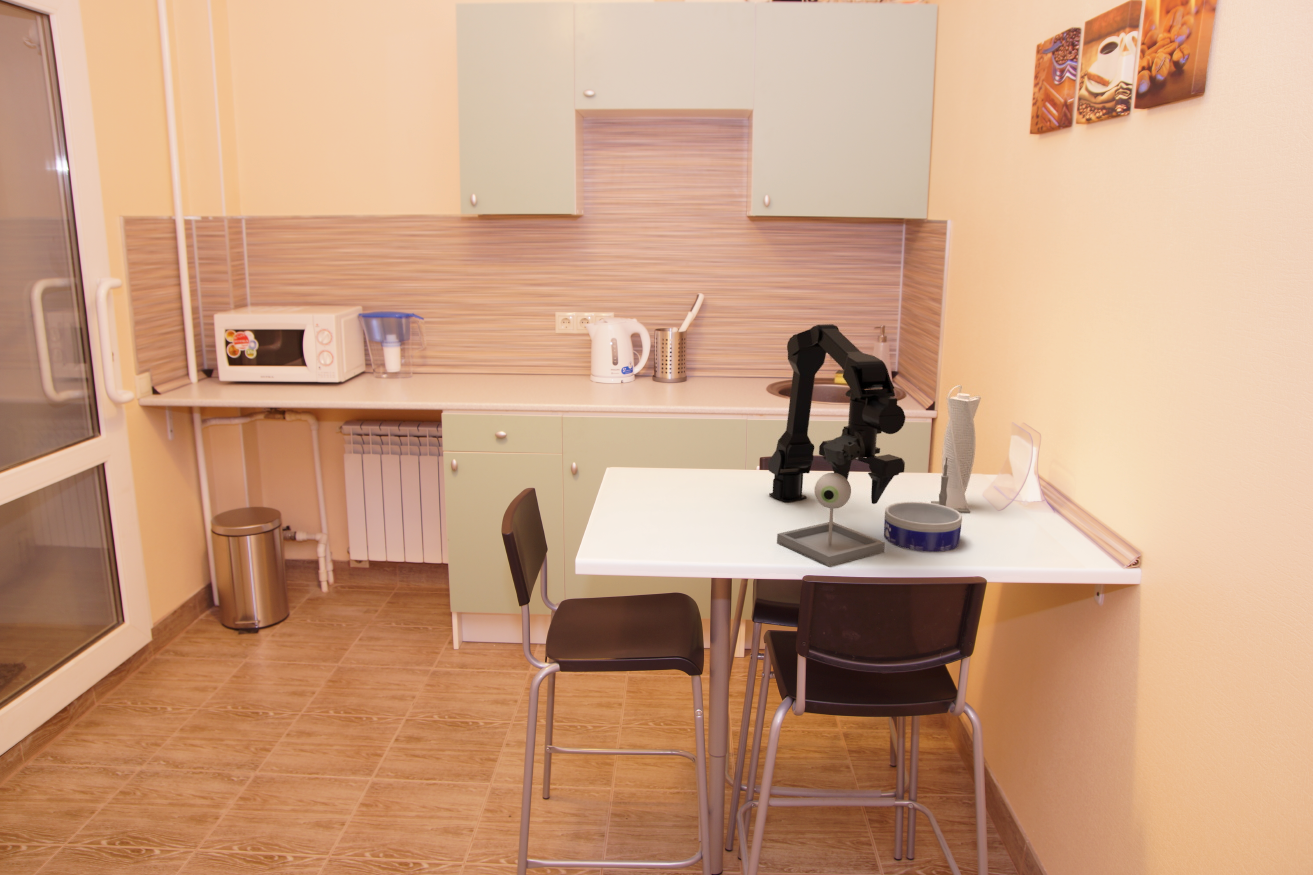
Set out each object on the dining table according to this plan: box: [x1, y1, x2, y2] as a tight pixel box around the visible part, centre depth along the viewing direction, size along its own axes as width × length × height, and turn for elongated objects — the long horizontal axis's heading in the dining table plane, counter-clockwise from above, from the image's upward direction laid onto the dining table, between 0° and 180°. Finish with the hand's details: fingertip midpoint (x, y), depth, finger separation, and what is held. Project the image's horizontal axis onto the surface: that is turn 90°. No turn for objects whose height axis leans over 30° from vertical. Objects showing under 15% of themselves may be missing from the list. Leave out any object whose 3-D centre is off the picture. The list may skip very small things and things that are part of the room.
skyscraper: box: [930, 384, 982, 514], centre depth 207 cm, size 8×8×28 cm
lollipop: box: [814, 472, 852, 546], centre depth 181 cm, size 7×7×15 cm
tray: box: [776, 521, 886, 567], centre depth 183 cm, size 15×15×2 cm
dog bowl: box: [883, 501, 963, 553], centre depth 188 cm, size 15×15×6 cm
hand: (857, 497), depth 185 cm, fingers open, 9 cm apart
